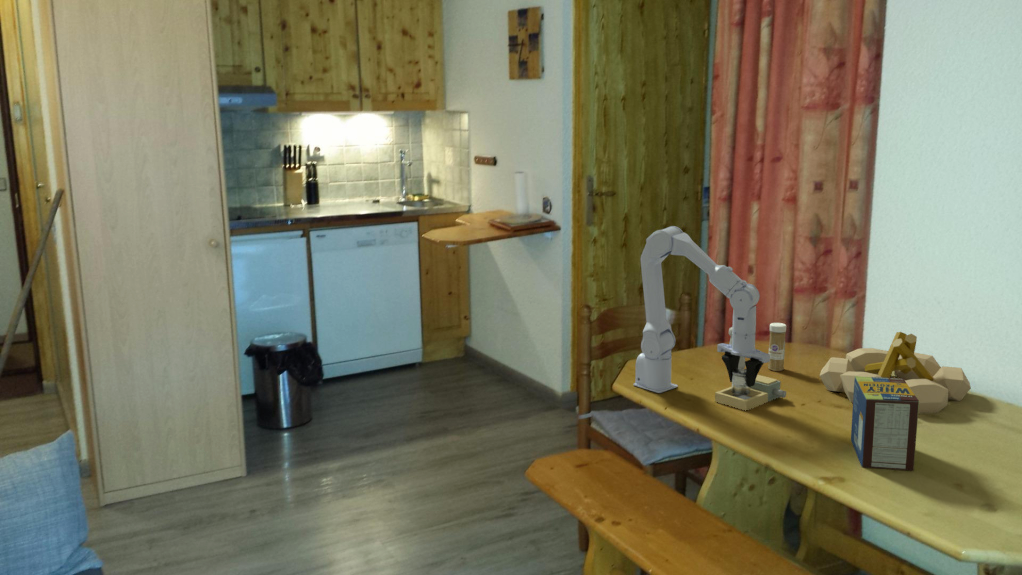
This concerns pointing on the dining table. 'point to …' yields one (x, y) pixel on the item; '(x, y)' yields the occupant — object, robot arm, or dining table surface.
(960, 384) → the campfire
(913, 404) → the protein box
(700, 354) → the dining table surface
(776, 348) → the sprinkles bottle
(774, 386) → the drawer
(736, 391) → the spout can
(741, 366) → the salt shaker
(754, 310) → the robot arm
